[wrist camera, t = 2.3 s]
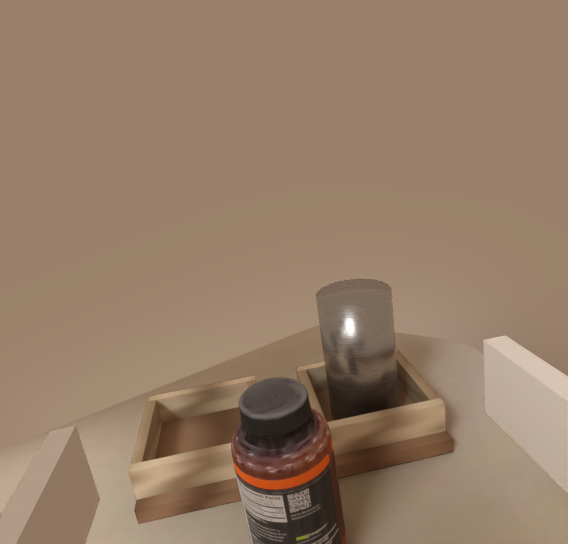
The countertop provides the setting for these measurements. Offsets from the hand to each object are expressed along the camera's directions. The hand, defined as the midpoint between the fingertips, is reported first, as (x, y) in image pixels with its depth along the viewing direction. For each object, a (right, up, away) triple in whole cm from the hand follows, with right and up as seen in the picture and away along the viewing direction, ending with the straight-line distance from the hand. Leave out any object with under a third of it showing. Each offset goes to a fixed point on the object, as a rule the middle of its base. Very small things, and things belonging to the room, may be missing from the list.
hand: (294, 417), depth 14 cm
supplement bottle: (+1, -13, +14) cm, 20 cm away
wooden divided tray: (0, -10, +25) cm, 27 cm away
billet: (+7, -7, +25) cm, 27 cm away
